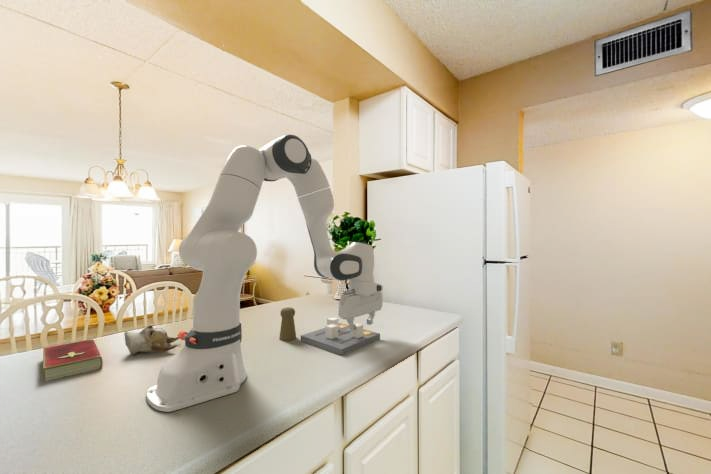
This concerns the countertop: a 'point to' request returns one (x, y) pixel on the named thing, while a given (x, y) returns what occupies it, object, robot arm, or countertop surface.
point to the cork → (287, 324)
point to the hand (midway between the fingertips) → (361, 327)
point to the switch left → (332, 321)
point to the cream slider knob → (357, 331)
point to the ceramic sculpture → (149, 340)
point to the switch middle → (331, 331)
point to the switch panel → (340, 340)
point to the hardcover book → (71, 359)
